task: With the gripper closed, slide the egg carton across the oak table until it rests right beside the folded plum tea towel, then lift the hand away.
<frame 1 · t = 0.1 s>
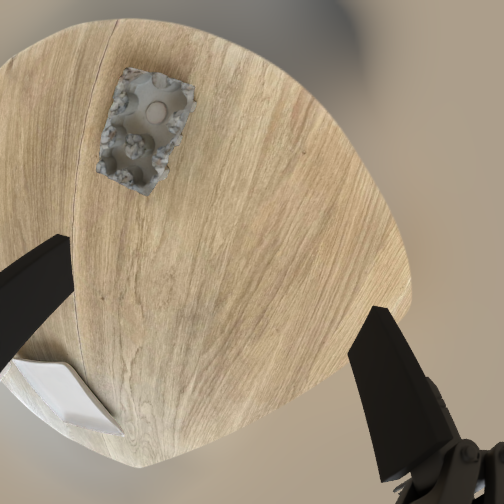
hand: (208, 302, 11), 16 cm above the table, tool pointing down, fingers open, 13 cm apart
plate: (69, 389, 42), on the table
egg carton: (153, 129, 23), on the table
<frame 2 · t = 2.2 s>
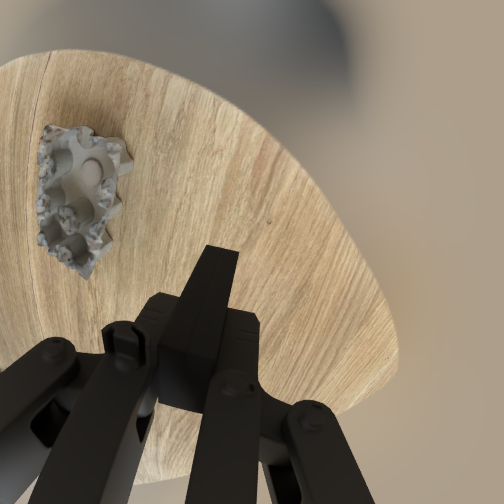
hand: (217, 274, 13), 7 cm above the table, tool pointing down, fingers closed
egg carton: (91, 192, 19), on the table
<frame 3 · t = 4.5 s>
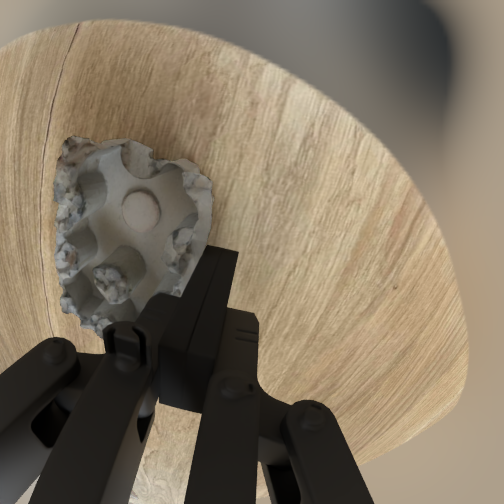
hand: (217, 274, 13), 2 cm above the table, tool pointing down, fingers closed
egg carton: (139, 238, 14), on the table, touching gripper
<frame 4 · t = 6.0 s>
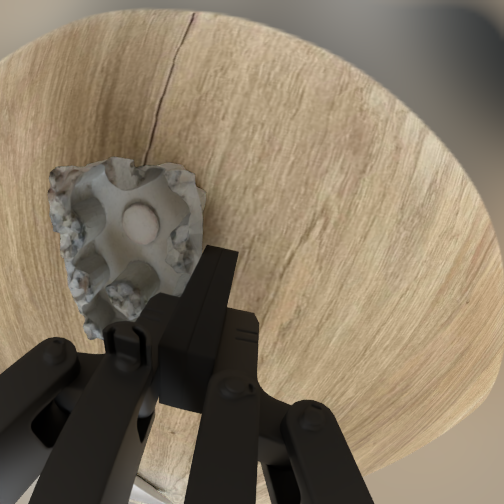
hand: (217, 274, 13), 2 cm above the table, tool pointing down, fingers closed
plate: (108, 468, 33), on the table
egg carton: (146, 250, 15), on the table, touching gripper
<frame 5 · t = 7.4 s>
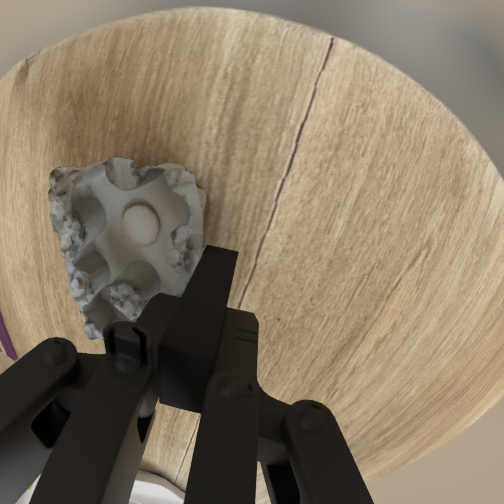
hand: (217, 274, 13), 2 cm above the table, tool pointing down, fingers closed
plate: (142, 480, 34), on the table
egg carton: (146, 250, 15), on the table, touching gripper
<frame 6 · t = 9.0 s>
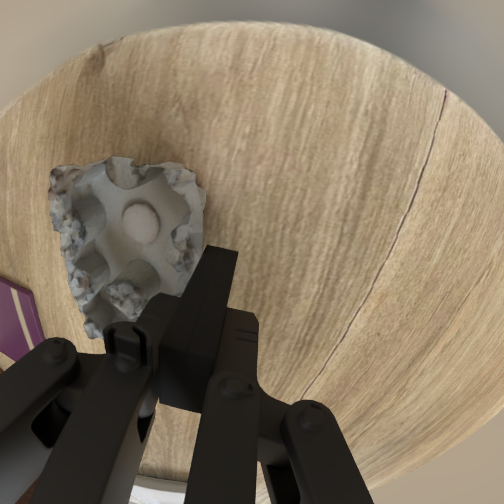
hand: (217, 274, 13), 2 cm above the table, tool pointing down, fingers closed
plate: (180, 491, 34), on the table
tea towel: (8, 323, 19), on the table
egg carton: (146, 250, 15), on the table, touching gripper
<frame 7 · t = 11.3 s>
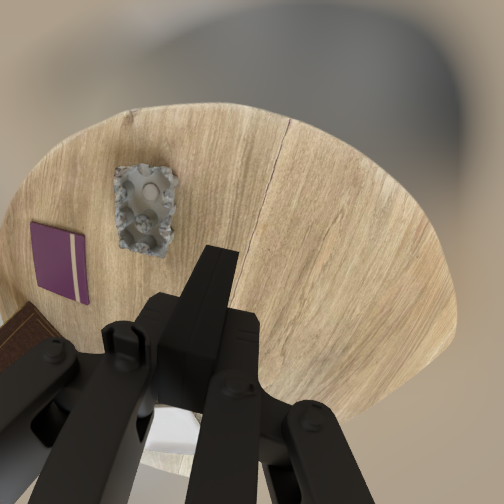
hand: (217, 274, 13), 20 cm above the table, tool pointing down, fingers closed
plate: (166, 422, 51), on the table
tea towel: (58, 262, 36), on the table
book: (60, 343, 44), on the table
egg carton: (152, 205, 32), on the table
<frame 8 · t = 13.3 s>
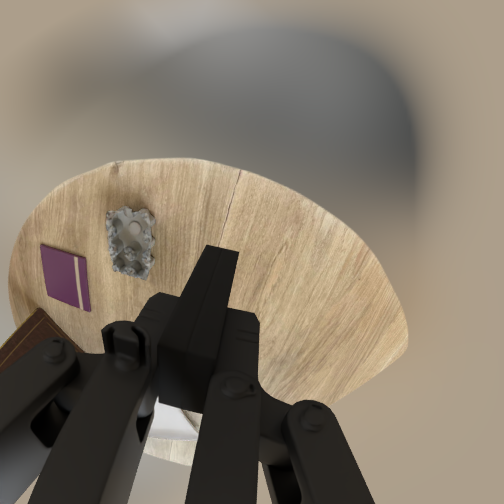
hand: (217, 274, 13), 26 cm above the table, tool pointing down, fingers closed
plate: (156, 410, 60), on the table
tea towel: (65, 277, 45), on the table
book: (66, 342, 53), on the table
egg carton: (137, 237, 41), on the table
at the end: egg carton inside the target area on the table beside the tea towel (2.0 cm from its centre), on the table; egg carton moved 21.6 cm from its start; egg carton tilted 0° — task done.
